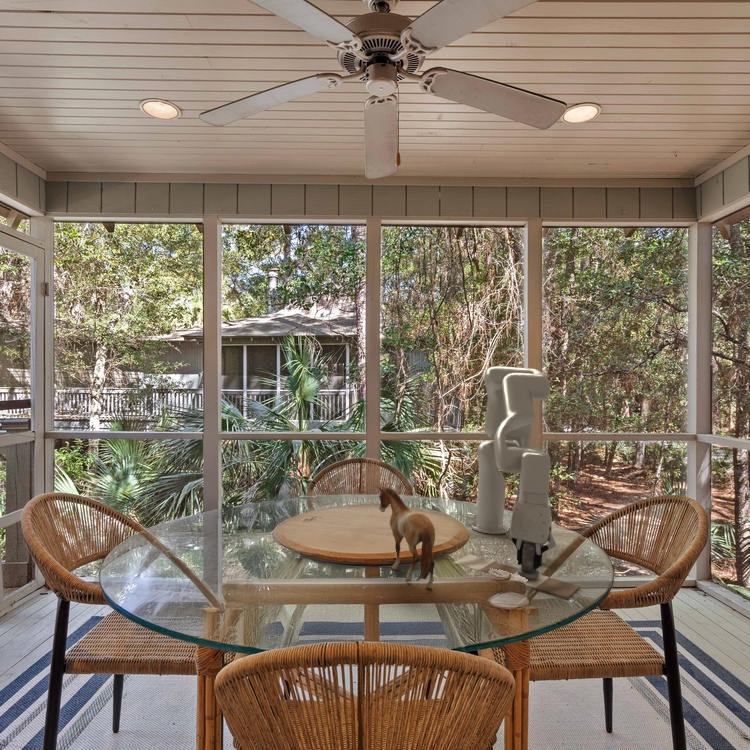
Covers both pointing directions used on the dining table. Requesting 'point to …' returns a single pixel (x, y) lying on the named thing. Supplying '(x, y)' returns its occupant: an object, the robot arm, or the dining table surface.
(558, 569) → the dining table surface
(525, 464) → the robot arm
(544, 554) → the die
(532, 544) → the pawn
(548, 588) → the game board
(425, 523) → the horse figurine
